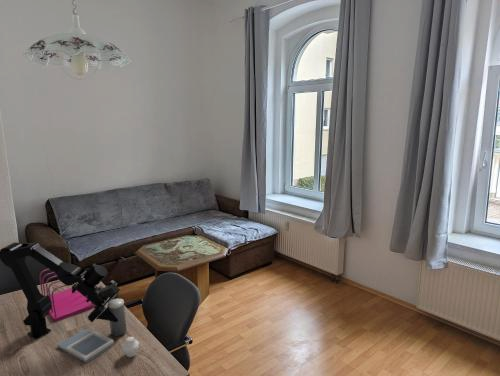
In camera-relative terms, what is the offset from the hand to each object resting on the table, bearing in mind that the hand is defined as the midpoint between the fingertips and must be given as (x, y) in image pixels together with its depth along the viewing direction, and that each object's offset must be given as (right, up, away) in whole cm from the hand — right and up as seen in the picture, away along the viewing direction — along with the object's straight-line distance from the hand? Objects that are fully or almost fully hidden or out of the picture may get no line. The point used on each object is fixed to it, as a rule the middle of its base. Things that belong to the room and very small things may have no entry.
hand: (120, 316), depth 143 cm
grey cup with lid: (-1, -7, +1) cm, 7 cm away
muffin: (+8, -10, -12) cm, 17 cm away
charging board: (-11, -9, -6) cm, 16 cm away
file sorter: (-35, -3, +25) cm, 43 cm away
